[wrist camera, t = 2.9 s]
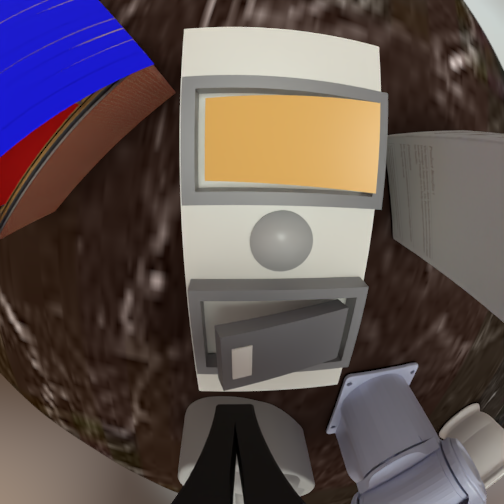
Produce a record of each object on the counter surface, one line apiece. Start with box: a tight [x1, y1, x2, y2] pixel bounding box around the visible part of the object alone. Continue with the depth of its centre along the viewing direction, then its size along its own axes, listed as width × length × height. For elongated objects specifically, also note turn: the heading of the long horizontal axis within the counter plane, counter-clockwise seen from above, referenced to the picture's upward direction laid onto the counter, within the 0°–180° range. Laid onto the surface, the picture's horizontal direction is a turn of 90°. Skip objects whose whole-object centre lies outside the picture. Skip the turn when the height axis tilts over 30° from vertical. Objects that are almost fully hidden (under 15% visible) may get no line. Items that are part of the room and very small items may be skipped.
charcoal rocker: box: [214, 299, 349, 391], centre depth 14 cm, size 4×7×1 cm, turn 89°
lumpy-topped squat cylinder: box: [178, 396, 315, 504], centre depth 21 cm, size 10×13×9 cm
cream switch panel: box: [180, 27, 388, 391], centre depth 15 cm, size 22×10×4 cm, turn 179°
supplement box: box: [386, 130, 504, 322], centre depth 11 cm, size 7×7×13 cm
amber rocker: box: [205, 95, 380, 194], centre depth 11 cm, size 4×7×1 cm, turn 89°
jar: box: [439, 403, 504, 489], centre depth 23 cm, size 11×10×15 cm
